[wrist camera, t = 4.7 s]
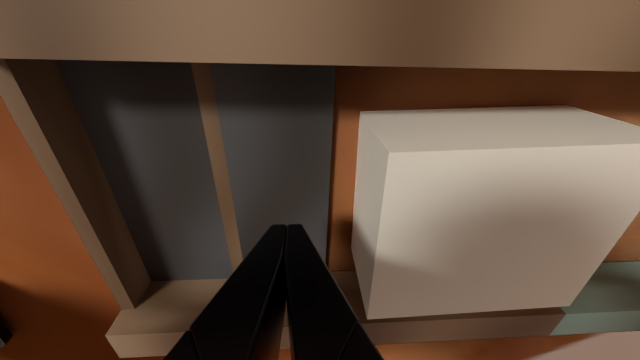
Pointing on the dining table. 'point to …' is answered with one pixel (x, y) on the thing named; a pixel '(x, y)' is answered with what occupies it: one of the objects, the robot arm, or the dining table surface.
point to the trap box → (261, 135)
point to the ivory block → (488, 206)
